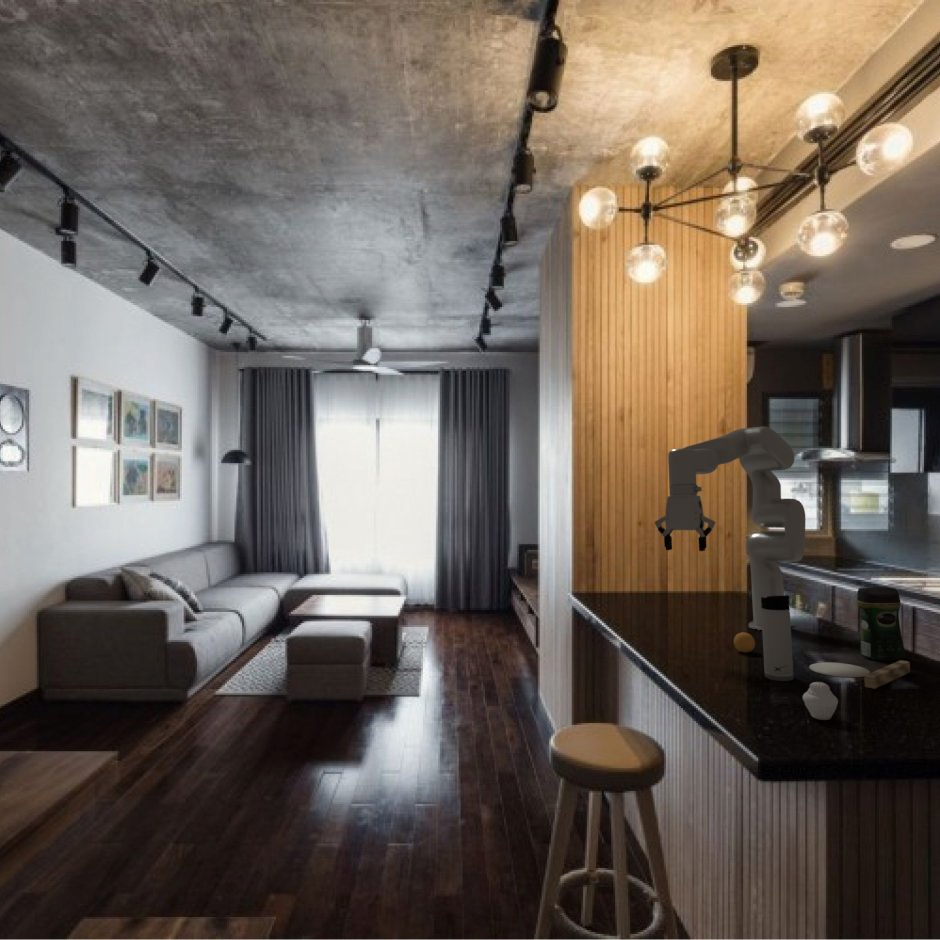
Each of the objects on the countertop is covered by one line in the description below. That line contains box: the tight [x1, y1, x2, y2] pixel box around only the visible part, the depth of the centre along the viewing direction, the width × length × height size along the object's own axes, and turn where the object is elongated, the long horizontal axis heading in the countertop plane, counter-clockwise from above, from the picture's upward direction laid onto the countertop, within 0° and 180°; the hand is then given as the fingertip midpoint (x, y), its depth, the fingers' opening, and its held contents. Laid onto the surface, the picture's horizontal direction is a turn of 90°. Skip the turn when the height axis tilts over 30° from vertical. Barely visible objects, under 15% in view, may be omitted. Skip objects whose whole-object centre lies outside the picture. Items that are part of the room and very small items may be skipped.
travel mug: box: [761, 594, 794, 682], centre depth 153 cm, size 6×7×20 cm
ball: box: [733, 631, 756, 654], centre depth 178 cm, size 6×6×6 cm
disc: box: [808, 661, 871, 678], centre depth 158 cm, size 13×13×1 cm
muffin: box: [802, 681, 839, 721], centre depth 126 cm, size 6×6×7 cm
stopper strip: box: [863, 660, 911, 689], centre depth 149 cm, size 20×2×2 cm, turn 126°
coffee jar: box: [856, 586, 906, 662], centre depth 168 cm, size 10×8×19 cm
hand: (685, 550), depth 184 cm, fingers open, 9 cm apart
